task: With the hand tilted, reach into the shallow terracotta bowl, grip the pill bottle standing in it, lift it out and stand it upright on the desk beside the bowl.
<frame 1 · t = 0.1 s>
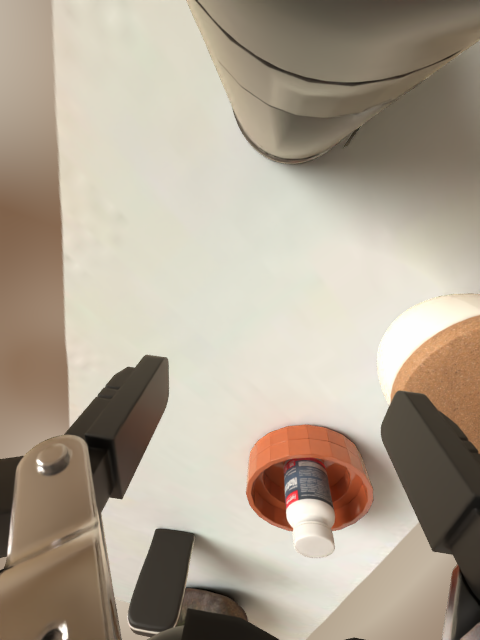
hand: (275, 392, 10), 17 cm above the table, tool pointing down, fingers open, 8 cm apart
stone: (202, 591, 54), on the table
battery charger: (176, 534, 46), on the table
terracotta bowl: (303, 462, 36), on the table
pill bottle: (303, 464, 35), resting on terracotta bowl
lidded bowl: (425, 336, 27), on the table
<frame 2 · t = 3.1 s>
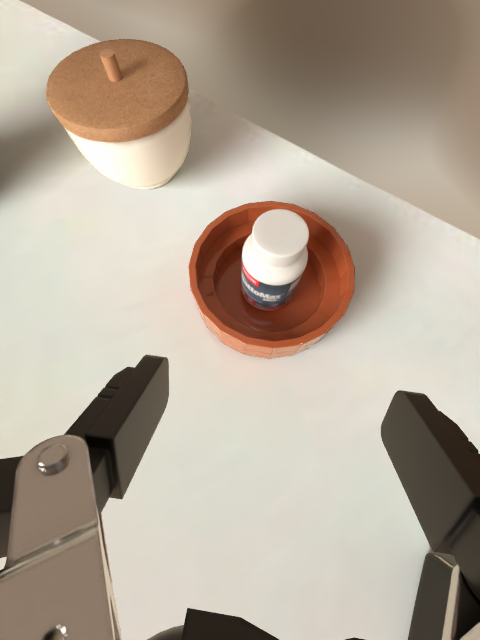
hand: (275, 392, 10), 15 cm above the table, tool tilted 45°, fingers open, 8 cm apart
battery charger: (437, 611, 20), on the table
terracotta bowl: (266, 289, 28), on the table
pill bottle: (267, 288, 28), resting on terracotta bowl
lidded bowl: (148, 168, 33), on the table
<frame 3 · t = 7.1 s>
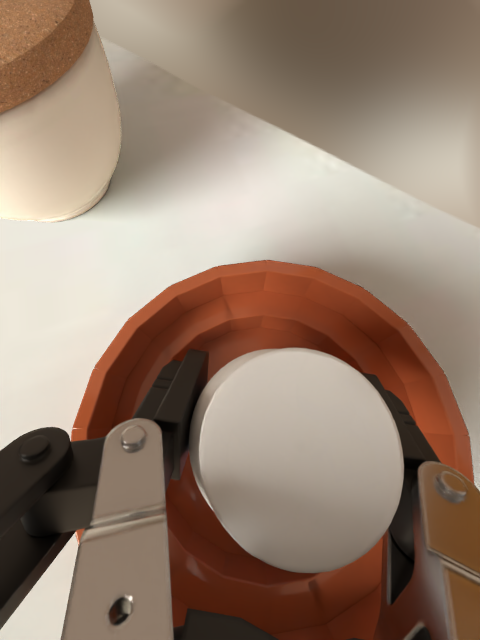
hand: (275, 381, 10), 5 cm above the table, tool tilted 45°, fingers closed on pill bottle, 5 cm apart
terracotta bowl: (261, 427, 14), on the table
pill bottle: (261, 428, 14), resting on terracotta bowl, touching gripper
lidded bowl: (61, 183, 20), on the table
when the fingers open (4 cm above the table, at t = 15.8 s): pill bottle stays where it is, on the table.
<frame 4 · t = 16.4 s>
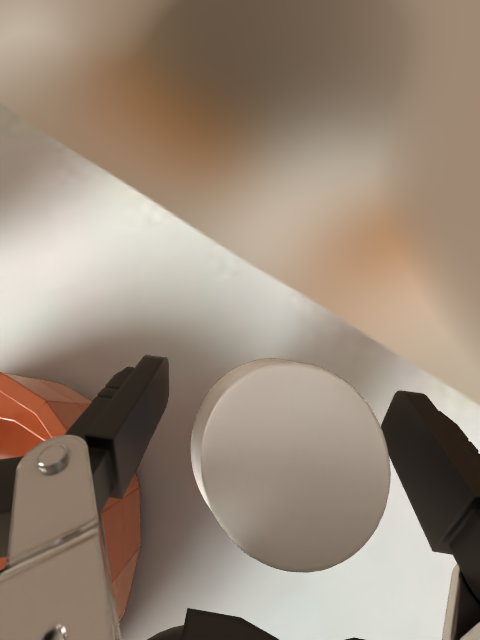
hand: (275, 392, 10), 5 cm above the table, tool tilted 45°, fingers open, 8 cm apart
pill bottle: (260, 432, 14), on the table
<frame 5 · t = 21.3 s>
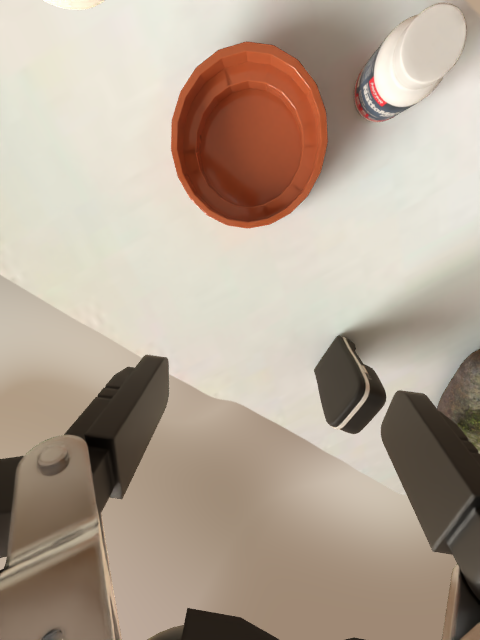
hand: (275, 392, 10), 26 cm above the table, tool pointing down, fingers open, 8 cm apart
stone: (472, 384, 38), on the table
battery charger: (336, 356, 39), on the table
terracotta bowl: (250, 152, 29), on the table
pill bottle: (381, 90, 26), on the table
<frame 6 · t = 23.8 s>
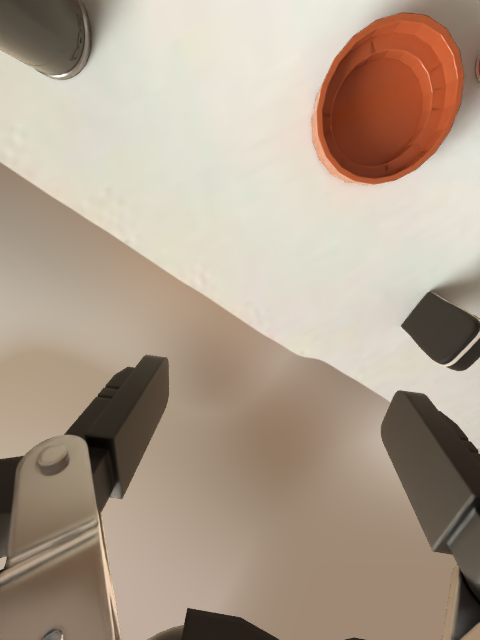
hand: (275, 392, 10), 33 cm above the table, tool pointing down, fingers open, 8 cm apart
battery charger: (422, 312, 42), on the table
terracotta bowl: (372, 118, 32), on the table
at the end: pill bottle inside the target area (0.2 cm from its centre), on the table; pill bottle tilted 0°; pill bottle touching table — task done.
